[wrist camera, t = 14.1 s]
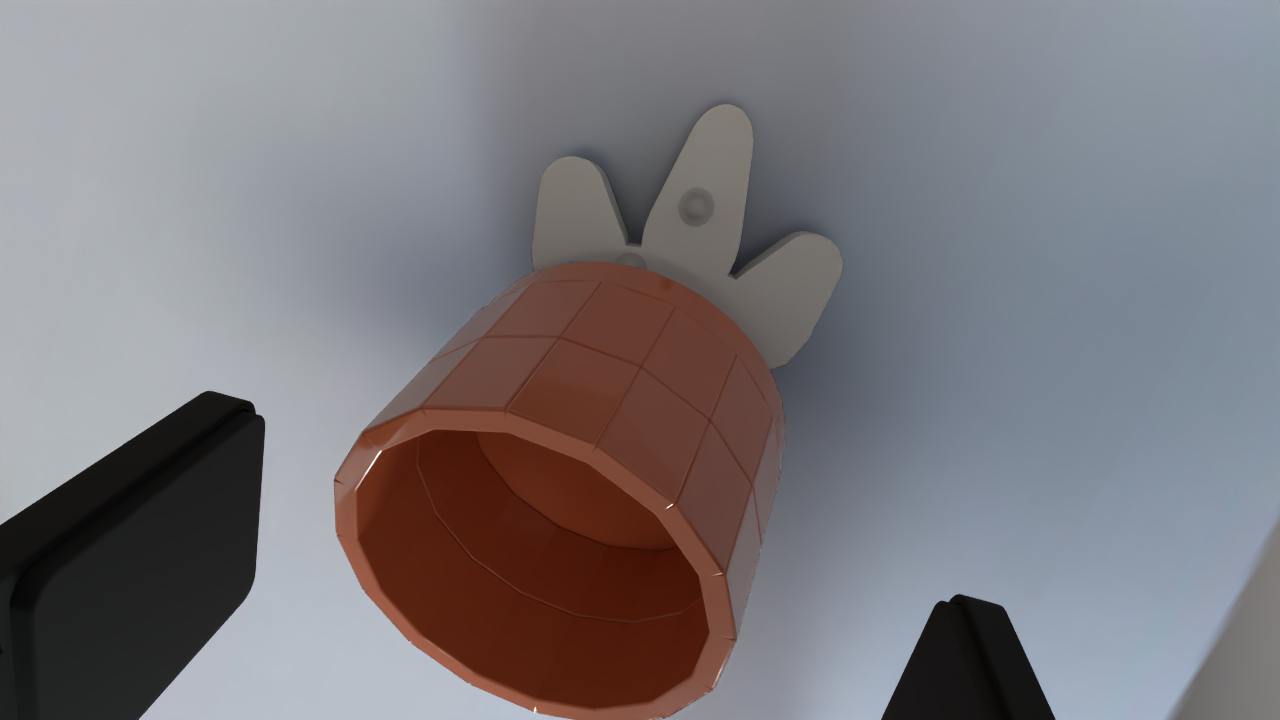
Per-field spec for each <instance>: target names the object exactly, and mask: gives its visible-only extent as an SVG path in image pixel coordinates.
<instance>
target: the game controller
mask: <svg viewBox="0 0 1280 720" xmlns="http://www.w3.org/2000/svg"><path fill="white" fill-rule="evenodd" d="M753 146H754V136H753V129H752V126H751V123H750V120H749V118H748V117H747V115H746V114H745V112H744V111H743V110H742V109H740V108H739V107H737V106H735V105H732V104H722V105H718V106H715V107H713V108H711V109H710V110H708V111H707V112H706V113H705V114H704V115H702V116H701V118H700V119H699V120H698V121H697V123H696V124H695V126H694V128H693V129H692V131H691V133H690V135H689V137H688V139H687V141H686V143H685V145H684V147H683V149H682V151H681V153H680V155H679V157H678V159H677V161H676V163H675V165H674V166H673V168H672V170H671V172H670V174H669V176H668V178H667V180H666V182H665V184H664V186H663V188H662V190H661V192H660V194H659V196H658V198H657V200H656V202H655V204H654V206H653V208H652V210H651V212H650V214H649V216H648V219H647V222H646V224H645V228H644V232H643V236H642V244H635V243H629V238H628V234H627V230H626V227H625V225H624V222H623V219H622V216H621V214H620V211H619V208H618V205H617V203H616V200H615V197H614V195H613V192H612V189H611V186H610V184H609V181H608V178H607V176H606V174H605V172H604V171H603V170H602V169H601V168H600V167H599V166H598V165H597V164H595V163H594V162H592V161H589V160H586V159H583V158H580V157H576V156H566V157H562V158H559V159H557V160H555V161H554V162H552V163H551V164H550V165H549V166H548V167H547V168H546V170H545V171H544V173H543V175H542V177H541V181H540V186H539V194H538V202H537V210H536V218H535V226H534V234H533V242H532V261H533V266H534V268H533V271H534V272H536V271H538V270H540V269H543V268H547V267H551V266H555V265H559V264H565V263H575V262H584V261H588V262H610V263H617V264H623V265H630V266H633V267H637V268H641V269H644V270H648V271H651V272H654V273H657V274H659V275H662V276H664V277H667V278H669V279H672V280H674V281H676V282H678V283H680V284H682V285H684V286H686V287H687V288H689V289H691V290H693V291H695V292H697V293H698V294H700V295H701V296H702V297H704V298H705V299H707V300H708V301H710V302H711V303H712V304H714V305H715V306H717V307H718V308H719V309H720V310H721V311H723V312H724V313H725V314H726V315H727V316H728V317H729V318H730V319H732V320H733V321H734V322H735V323H736V324H737V325H738V326H739V327H740V329H741V330H742V331H743V332H744V333H745V334H746V335H747V336H748V338H749V339H750V340H751V341H752V343H753V344H754V345H755V347H756V348H757V350H758V351H759V353H760V354H761V356H762V357H763V358H764V360H765V362H766V364H767V366H768V368H769V370H771V369H774V368H777V367H780V366H782V365H785V364H788V362H789V361H790V360H791V359H792V358H793V357H794V355H795V354H796V353H797V352H798V351H799V350H800V349H801V348H802V347H803V346H804V344H805V343H806V342H807V340H808V339H809V337H810V336H811V334H812V332H813V330H814V328H815V326H816V324H817V322H818V320H819V318H820V316H821V314H822V312H823V310H824V308H825V307H826V305H827V303H828V301H829V299H830V297H831V295H832V293H833V291H834V289H835V287H836V285H837V283H838V281H839V279H840V277H841V274H842V269H843V261H842V256H841V253H840V251H839V249H838V248H837V246H836V245H835V244H834V243H833V242H832V241H831V240H829V239H828V238H826V237H824V236H821V235H818V234H815V233H811V232H807V231H799V232H794V233H791V234H789V235H787V236H785V237H784V238H782V239H781V240H780V241H778V242H777V243H775V244H774V245H773V246H771V247H770V248H768V249H767V250H766V251H764V252H763V253H761V254H760V255H759V256H757V257H756V258H754V259H753V260H751V261H750V262H749V263H747V264H746V265H745V266H744V267H743V268H742V269H740V270H739V271H738V272H737V273H736V274H735V275H732V274H730V273H729V272H730V270H731V268H732V266H733V264H734V262H735V259H736V256H737V253H738V250H739V246H740V241H741V235H742V227H743V220H744V213H745V205H746V198H747V190H748V183H749V175H750V168H751V160H752V153H753Z"/></svg>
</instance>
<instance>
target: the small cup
mask: <svg viewBox="0 0 1280 720" xmlns="http://www.w3.org/2000/svg"><path fill="white" fill-rule="evenodd" d="M785 439H786V431H785V416H784V410H783V405H782V400H781V397H780V394H779V391H778V388H777V385H776V383H775V380H774V378H773V376H772V374H771V372H770V370H769V368H768V366H767V364H766V362H765V360H764V358H763V357H762V356H761V354H760V353H759V351H758V350H757V348H756V347H755V345H754V344H753V343H752V341H751V340H750V339H749V338H748V336H747V335H746V334H745V333H744V332H743V331H742V330H741V329H740V327H739V326H738V325H737V324H736V323H735V322H734V321H733V320H732V319H730V318H729V317H728V316H727V315H726V314H725V313H724V312H723V311H721V310H720V309H719V308H718V307H717V306H715V305H714V304H712V303H711V302H710V301H708V300H707V299H705V298H704V297H702V296H701V295H700V294H698V293H697V292H695V291H693V290H691V289H689V288H687V287H686V286H684V285H682V284H680V283H678V282H676V281H674V280H672V279H669V278H667V277H664V276H662V275H659V274H657V273H654V272H651V271H648V270H644V269H641V268H637V267H633V266H630V265H623V264H617V263H610V262H588V261H584V262H575V263H565V264H559V265H555V266H551V267H547V268H543V269H540V270H538V271H536V272H533V273H531V274H528V275H526V276H524V277H522V278H521V279H519V280H517V281H516V282H514V283H513V284H511V285H509V286H508V287H507V288H506V289H505V290H503V291H502V292H501V293H500V294H499V295H498V296H497V297H495V298H494V299H493V301H492V302H491V303H490V304H489V305H487V306H485V307H483V308H481V309H480V310H479V311H478V312H477V313H476V314H475V315H474V316H473V317H472V318H471V319H470V320H469V321H468V322H467V323H466V324H465V325H464V327H463V328H462V329H461V330H460V331H459V332H458V333H457V334H456V335H455V336H454V337H453V338H452V339H451V340H450V341H449V342H448V343H447V344H446V345H445V346H444V347H443V348H442V349H441V350H440V351H439V352H438V353H437V354H436V355H435V357H434V358H433V359H432V360H431V361H430V362H429V363H428V364H427V365H426V366H425V367H424V368H423V369H422V370H421V371H420V372H419V373H418V374H417V375H416V376H415V377H414V378H413V379H412V380H411V381H410V382H409V383H408V384H407V385H406V387H405V388H404V389H403V390H402V391H401V392H400V393H399V394H398V395H397V396H396V397H395V398H394V399H393V400H392V401H391V402H390V403H389V404H388V405H387V406H386V407H385V408H384V409H383V410H382V411H381V412H380V413H379V414H378V415H377V417H376V418H375V419H374V420H373V421H372V422H371V423H370V424H369V425H368V426H367V427H366V428H365V429H364V430H363V431H362V432H361V434H360V435H359V437H358V438H357V440H356V442H355V443H354V445H353V447H352V448H351V450H350V451H349V453H348V455H347V456H346V458H345V460H344V461H343V463H342V465H341V466H340V468H339V469H338V471H337V473H336V474H335V478H334V500H335V526H336V533H337V538H338V540H339V542H340V544H341V546H342V548H343V550H344V552H345V554H346V556H347V558H348V560H349V562H350V564H351V567H352V569H353V571H354V573H355V575H356V577H357V579H358V581H359V583H360V585H361V587H362V589H363V590H365V593H366V594H367V595H368V597H369V598H370V599H371V600H372V601H373V602H374V603H375V604H376V605H377V607H378V608H379V609H380V610H381V611H382V612H383V613H384V614H385V615H386V617H387V618H388V619H389V620H390V621H391V622H392V623H393V624H394V625H395V627H396V628H397V629H398V630H399V631H400V632H401V633H402V634H403V635H404V637H405V638H406V639H407V640H408V641H410V642H411V643H412V644H413V645H414V646H416V647H417V648H418V649H420V650H421V651H423V652H424V653H426V654H427V655H428V656H430V657H431V658H433V659H434V660H436V661H437V662H438V663H440V664H441V665H443V666H444V667H445V668H447V669H448V670H450V671H451V672H453V673H454V674H455V675H457V676H458V677H460V678H461V679H462V680H464V681H465V682H467V683H470V684H471V685H472V686H474V687H477V688H479V689H481V690H484V691H486V692H488V693H491V694H493V695H495V696H498V697H500V698H502V699H505V700H507V701H509V702H512V703H514V704H516V705H519V706H521V707H523V708H526V709H528V710H530V711H533V712H537V713H539V714H544V715H550V716H556V717H561V718H567V719H572V720H655V719H663V718H666V717H669V716H671V715H673V714H674V713H676V712H678V711H679V710H681V709H683V708H684V707H686V706H688V705H689V704H691V703H693V702H694V701H696V700H698V699H699V698H701V697H702V696H704V695H706V694H707V693H709V692H711V691H712V690H713V689H714V688H715V687H716V685H717V683H718V681H719V679H720V677H721V674H722V672H723V670H724V668H725V666H726V663H727V661H728V659H729V657H730V655H731V652H732V650H733V648H734V646H735V644H736V641H737V638H738V634H739V631H740V627H741V623H742V619H743V616H744V612H745V608H746V604H747V600H748V597H749V593H750V589H751V585H752V582H753V578H754V574H755V570H756V566H757V563H758V559H759V555H760V550H761V547H762V544H763V540H764V536H765V532H766V529H767V525H768V521H769V517H770V514H771V510H772V506H773V502H774V498H775V495H776V491H777V487H778V483H779V480H780V474H781V469H780V466H781V462H782V458H783V454H784V447H785Z"/></svg>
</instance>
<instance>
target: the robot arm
mask: <svg viewBox="0 0 1280 720" xmlns="http://www.w3.org/2000/svg"><path fill="white" fill-rule="evenodd" d="M264 437H265V421H264V418H263V417H262V416H261V415H257V414H256V412H255V408H254V405H253V404H252V403H251V402H250V401H246V400H243V399H239V398H235V397H232V396H228V395H224V394H221V393H217V392H213V391H206V392H204V393H201V394H200V395H198V396H197V397H195V398H194V399H192V400H191V401H189V402H188V403H186V404H185V405H183V406H182V407H180V408H178V409H177V410H175V411H174V412H172V413H171V414H169V415H168V416H166V417H165V418H163V419H162V420H160V421H159V422H157V423H156V424H154V425H153V426H151V427H149V428H148V429H146V430H145V431H143V432H142V433H140V434H139V435H137V436H136V437H134V438H133V439H131V440H130V441H128V442H127V443H125V444H123V445H122V446H120V447H119V448H117V449H116V450H114V451H113V452H111V453H110V454H108V455H107V456H105V457H104V458H102V459H101V460H99V461H98V462H96V463H94V464H93V465H91V466H90V467H88V468H87V469H85V470H84V471H82V472H81V473H79V474H78V475H76V476H75V477H73V478H72V479H70V480H69V481H67V482H65V483H64V484H62V485H61V486H59V487H58V488H56V489H55V490H53V491H52V492H50V493H49V494H47V495H46V496H44V497H43V498H41V499H40V500H38V501H36V502H35V503H33V504H32V505H30V506H29V507H27V508H26V509H24V510H23V511H21V512H20V513H18V514H17V515H15V516H14V517H12V518H10V519H9V520H7V521H6V522H4V523H3V524H1V525H0V720H139V718H140V717H141V716H142V715H143V714H144V713H145V712H146V711H147V709H148V708H149V707H150V706H151V705H152V704H153V703H154V702H155V700H156V699H157V698H158V697H159V696H160V695H161V694H162V693H163V691H164V690H165V689H166V688H167V687H168V686H169V685H170V684H171V682H172V681H173V680H174V679H175V678H176V677H177V676H178V675H179V673H180V672H181V671H182V670H183V669H184V668H185V667H186V666H187V664H188V663H189V662H190V661H191V660H192V659H193V658H194V657H195V655H196V654H197V653H198V652H199V651H200V650H201V649H202V648H203V646H204V645H205V644H206V643H207V642H208V641H209V640H210V639H211V637H212V636H213V635H214V634H215V633H216V632H217V631H218V630H219V628H220V627H221V626H222V625H223V624H224V623H225V622H226V621H227V619H228V618H229V617H230V616H231V615H232V614H233V613H234V612H235V610H236V609H237V608H238V607H239V606H240V605H241V604H242V602H243V601H244V600H245V598H246V597H247V595H248V594H249V592H250V590H251V587H252V585H253V582H254V578H255V572H256V557H257V542H258V527H259V512H260V497H261V482H262V467H263V452H264ZM881 720H1056V719H1055V717H1054V715H1053V713H1052V711H1051V708H1050V706H1049V704H1048V702H1047V700H1046V698H1045V695H1044V693H1043V691H1042V689H1041V687H1040V684H1039V682H1038V680H1037V678H1036V676H1035V674H1034V671H1033V669H1032V667H1031V665H1030V663H1029V660H1028V658H1027V656H1026V654H1025V652H1024V650H1023V647H1022V645H1021V643H1020V641H1019V639H1018V636H1017V634H1016V632H1015V630H1014V628H1013V625H1012V623H1011V621H1010V619H1009V617H1008V615H1007V612H1006V611H1005V609H1004V608H1003V607H1002V606H1000V605H998V604H994V603H991V602H987V601H983V600H980V599H976V598H972V597H969V596H965V595H961V594H958V595H955V596H954V597H953V598H951V600H950V601H949V602H945V601H939V602H938V603H937V604H936V605H935V607H934V609H933V610H932V613H931V615H930V617H929V619H928V621H927V623H926V625H925V627H924V630H923V632H922V634H921V636H920V638H919V640H918V642H917V644H916V647H915V649H914V651H913V653H912V655H911V657H910V659H909V661H908V664H907V666H906V668H905V670H904V672H903V674H902V676H901V678H900V681H899V683H898V685H897V687H896V689H895V691H894V693H893V695H892V697H891V700H890V702H889V704H888V706H887V708H886V710H885V712H884V714H883V717H882V719H881Z"/></svg>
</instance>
